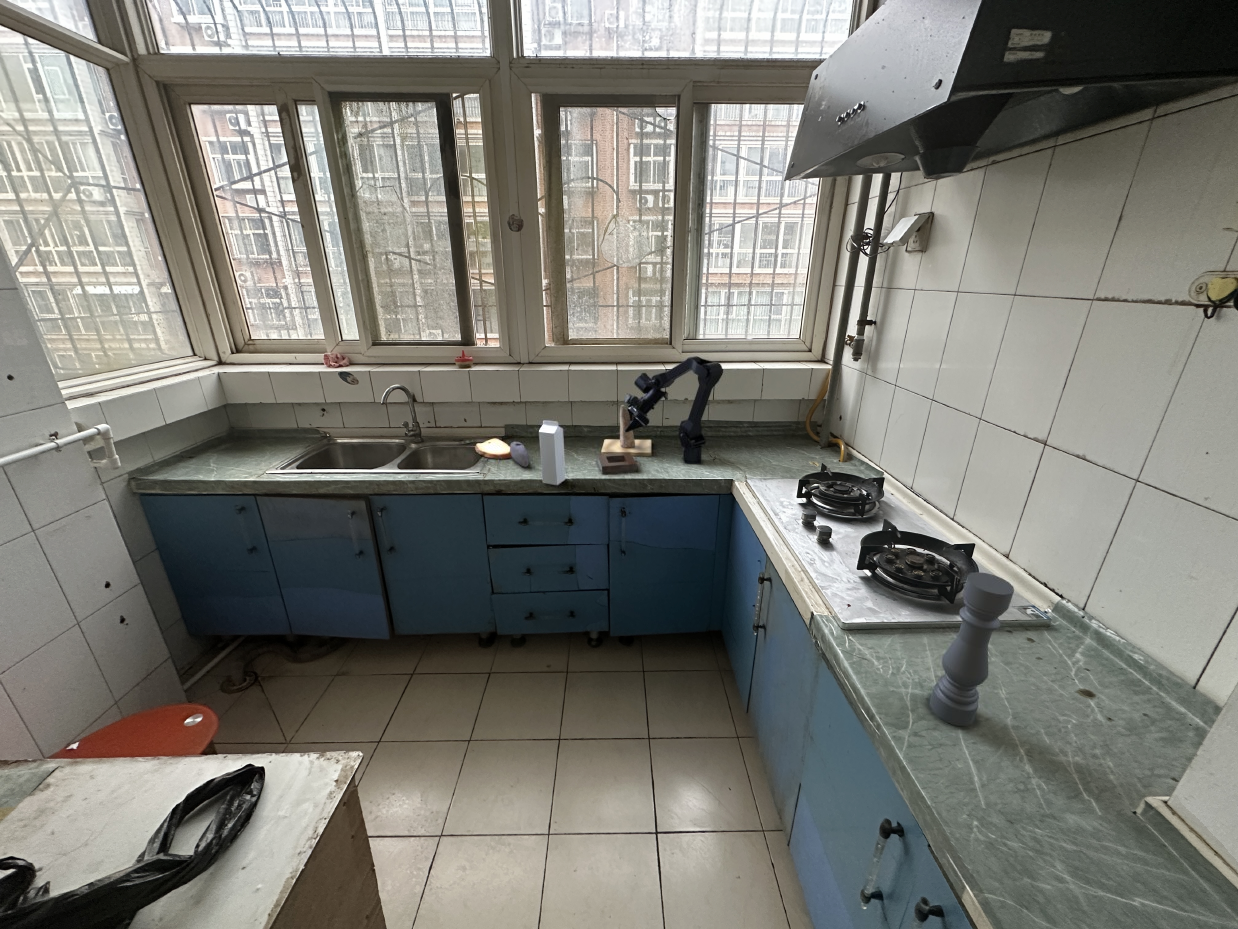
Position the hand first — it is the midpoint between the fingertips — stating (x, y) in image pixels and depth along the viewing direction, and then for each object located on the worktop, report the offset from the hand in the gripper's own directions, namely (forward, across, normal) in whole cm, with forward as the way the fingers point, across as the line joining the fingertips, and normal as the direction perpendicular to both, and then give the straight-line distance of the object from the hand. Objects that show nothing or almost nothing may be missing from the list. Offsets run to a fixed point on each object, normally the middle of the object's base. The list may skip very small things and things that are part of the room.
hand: (623, 428), depth 202 cm
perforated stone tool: (+36, +7, -22) cm, 43 cm away
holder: (+11, +18, +2) cm, 21 cm away
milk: (+28, +27, -14) cm, 42 cm away
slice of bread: (+44, -9, -30) cm, 54 cm away
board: (+5, -1, +8) cm, 10 cm away
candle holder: (-14, +138, +28) cm, 142 cm away
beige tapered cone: (+4, 0, +7) cm, 8 cm away
